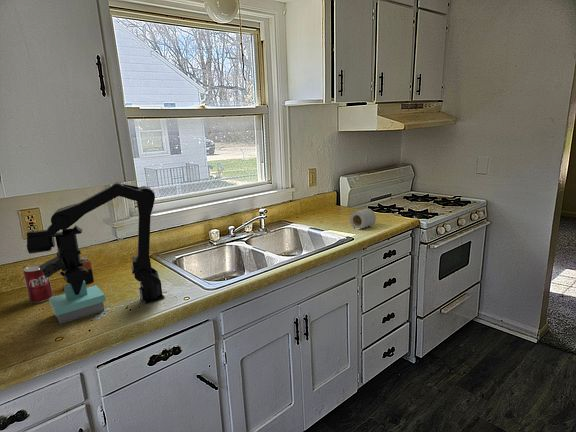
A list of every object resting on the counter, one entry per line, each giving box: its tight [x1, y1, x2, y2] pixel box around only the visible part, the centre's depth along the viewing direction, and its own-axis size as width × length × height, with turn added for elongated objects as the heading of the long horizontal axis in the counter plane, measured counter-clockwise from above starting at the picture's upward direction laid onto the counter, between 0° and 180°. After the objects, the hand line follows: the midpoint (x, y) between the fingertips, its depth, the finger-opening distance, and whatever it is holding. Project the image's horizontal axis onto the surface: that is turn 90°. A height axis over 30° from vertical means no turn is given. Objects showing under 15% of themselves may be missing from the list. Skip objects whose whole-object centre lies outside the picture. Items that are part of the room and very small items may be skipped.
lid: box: [48, 281, 106, 317], centre depth 125 cm, size 14×10×7 cm
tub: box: [55, 302, 105, 325], centre depth 127 cm, size 13×9×5 cm
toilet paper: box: [349, 208, 377, 230], centre depth 213 cm, size 10×10×10 cm
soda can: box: [22, 264, 54, 304], centre depth 137 cm, size 7×7×12 cm
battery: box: [79, 256, 95, 285], centre depth 150 cm, size 4×7×10 cm, turn 129°
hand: (76, 293), depth 125 cm, fingers closed on lid
